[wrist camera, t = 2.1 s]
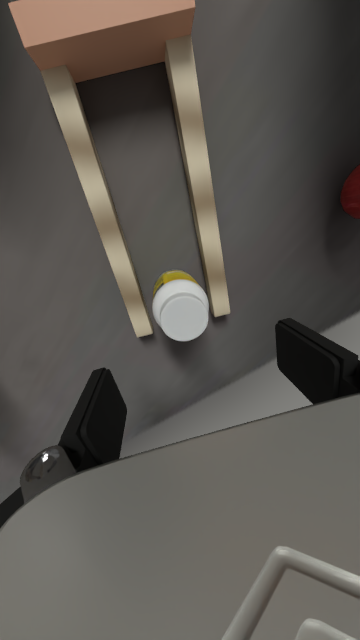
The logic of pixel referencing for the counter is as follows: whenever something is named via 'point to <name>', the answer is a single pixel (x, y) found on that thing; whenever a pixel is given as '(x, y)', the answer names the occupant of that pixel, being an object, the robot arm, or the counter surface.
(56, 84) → the wooden u-shaped frame
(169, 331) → the supplement bottle
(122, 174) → the counter surface
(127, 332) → the counter surface
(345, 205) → the onion
